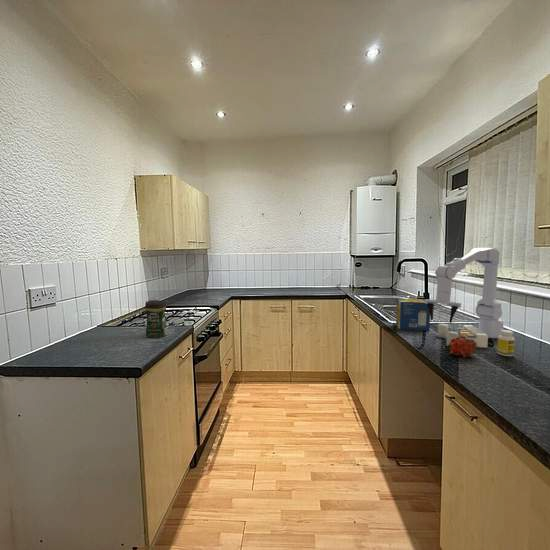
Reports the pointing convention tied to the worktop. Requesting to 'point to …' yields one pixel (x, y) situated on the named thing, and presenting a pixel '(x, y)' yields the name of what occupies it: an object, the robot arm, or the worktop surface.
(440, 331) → the white cylinder tube
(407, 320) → the protein box
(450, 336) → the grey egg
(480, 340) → the breaker panel
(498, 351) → the supplement bottle
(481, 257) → the robot arm
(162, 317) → the coffee jar
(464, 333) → the breaker paddle
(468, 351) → the dragon fruit
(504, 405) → the worktop surface
